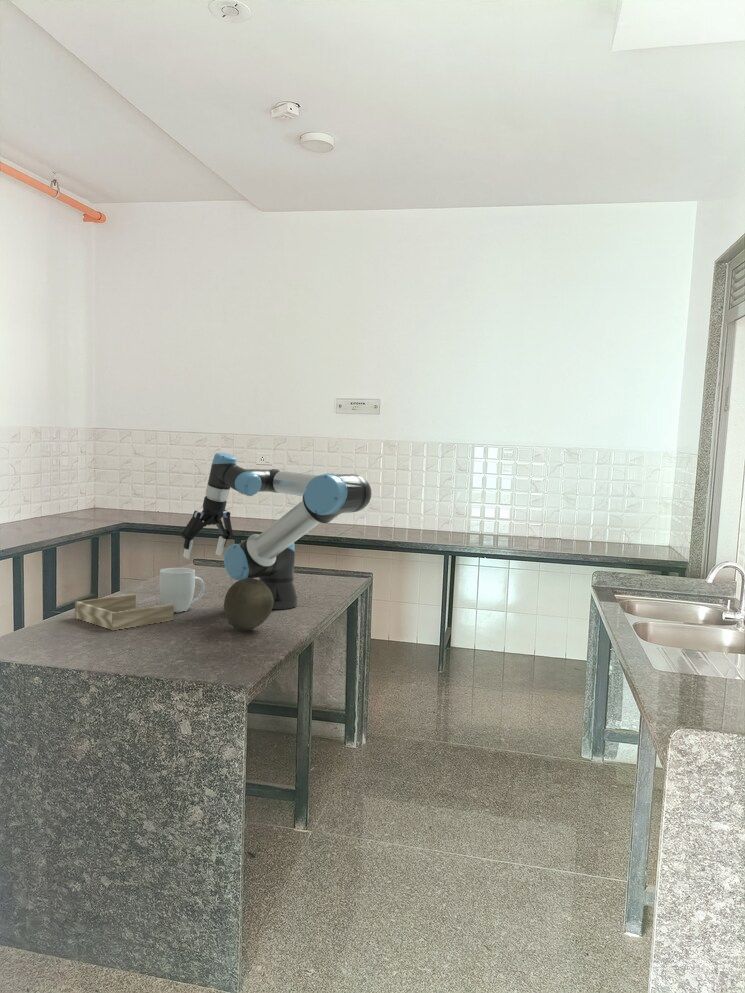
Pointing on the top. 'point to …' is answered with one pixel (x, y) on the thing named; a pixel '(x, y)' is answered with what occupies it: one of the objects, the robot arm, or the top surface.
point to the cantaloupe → (248, 604)
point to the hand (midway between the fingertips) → (202, 556)
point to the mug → (178, 587)
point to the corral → (106, 607)
